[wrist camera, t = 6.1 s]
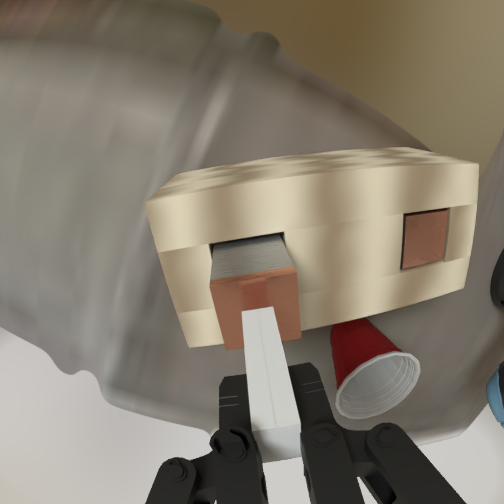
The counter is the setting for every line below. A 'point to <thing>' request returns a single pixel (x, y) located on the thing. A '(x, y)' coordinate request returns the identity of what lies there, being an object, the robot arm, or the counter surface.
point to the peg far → (423, 237)
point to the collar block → (317, 229)
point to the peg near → (254, 285)
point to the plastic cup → (369, 370)
